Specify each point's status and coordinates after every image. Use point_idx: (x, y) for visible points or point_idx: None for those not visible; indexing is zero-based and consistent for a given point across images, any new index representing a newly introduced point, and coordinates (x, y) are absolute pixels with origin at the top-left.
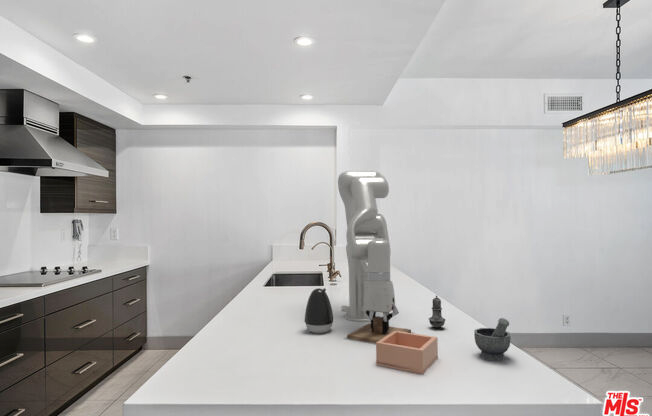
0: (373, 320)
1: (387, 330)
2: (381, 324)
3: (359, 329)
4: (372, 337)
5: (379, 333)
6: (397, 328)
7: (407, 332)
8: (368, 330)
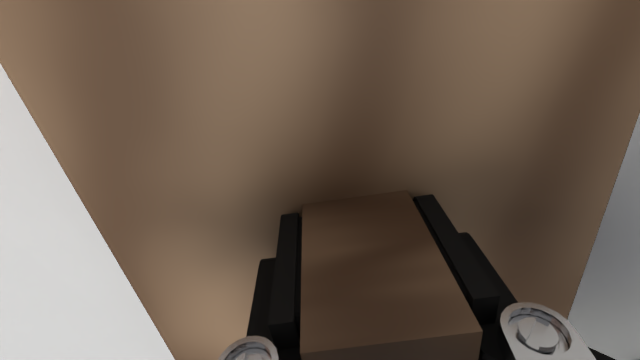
0: (462, 299)
1: (262, 263)
2: (311, 280)
3: (592, 196)
4: (323, 24)
5: (336, 201)
6: None
7: (170, 349)
8: (488, 221)
